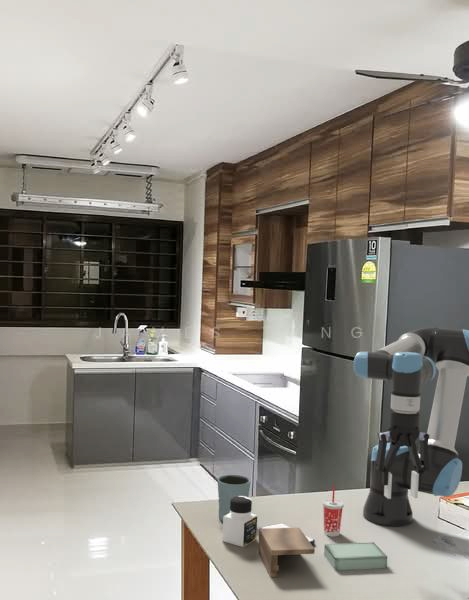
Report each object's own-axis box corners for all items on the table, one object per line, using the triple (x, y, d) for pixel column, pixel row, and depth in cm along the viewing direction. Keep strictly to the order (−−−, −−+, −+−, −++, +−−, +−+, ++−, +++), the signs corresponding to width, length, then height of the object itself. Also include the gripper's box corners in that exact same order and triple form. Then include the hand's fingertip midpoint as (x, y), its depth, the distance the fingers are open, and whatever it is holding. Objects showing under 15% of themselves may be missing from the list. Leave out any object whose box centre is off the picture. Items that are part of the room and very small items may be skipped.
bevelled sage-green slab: (373, 553, 178) (374, 542, 178) (386, 567, 170) (387, 556, 169) (324, 555, 176) (324, 544, 176) (335, 570, 167) (335, 558, 167)
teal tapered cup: (226, 526, 193) (227, 486, 193) (209, 515, 202) (211, 476, 202) (255, 521, 199) (256, 482, 198) (238, 510, 207) (239, 472, 207)
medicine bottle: (243, 547, 179) (245, 504, 178) (221, 541, 182) (223, 498, 182) (256, 539, 185) (258, 497, 184) (235, 533, 188) (237, 492, 188)
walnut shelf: (298, 552, 177) (299, 527, 177) (313, 575, 163) (314, 549, 163) (258, 553, 175) (259, 528, 175) (270, 577, 161) (271, 550, 161)
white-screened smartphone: (257, 532, 191) (291, 552, 178) (258, 527, 191) (291, 546, 178) (282, 527, 196) (316, 546, 183) (282, 522, 196) (317, 540, 183)
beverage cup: (333, 528, 196) (336, 481, 195) (346, 535, 190) (348, 487, 190) (317, 531, 193) (319, 483, 192) (329, 538, 187) (331, 490, 187)
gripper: (375, 413, 168) (370, 502, 169) (446, 413, 172) (442, 500, 172) (364, 407, 175) (360, 492, 176) (433, 408, 179) (428, 491, 180)
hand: (400, 496), depth 174 cm, fingers open, 7 cm apart
